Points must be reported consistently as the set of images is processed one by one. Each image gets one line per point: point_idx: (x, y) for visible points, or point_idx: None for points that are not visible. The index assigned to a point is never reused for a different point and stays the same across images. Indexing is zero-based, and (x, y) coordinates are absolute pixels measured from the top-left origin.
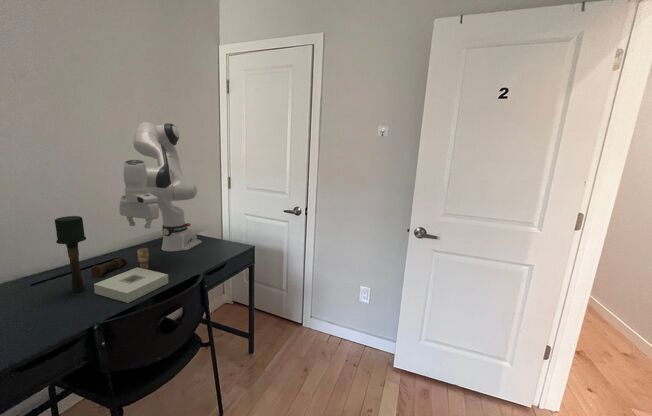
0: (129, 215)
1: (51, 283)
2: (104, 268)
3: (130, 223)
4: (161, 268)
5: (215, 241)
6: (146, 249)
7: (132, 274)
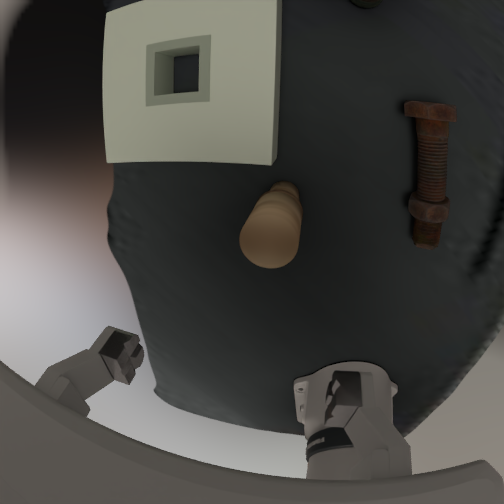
0: (322, 499)
1: (493, 40)
2: (421, 129)
3: (354, 395)
4: None
5: (268, 424)
6: (250, 251)
7: (217, 97)
